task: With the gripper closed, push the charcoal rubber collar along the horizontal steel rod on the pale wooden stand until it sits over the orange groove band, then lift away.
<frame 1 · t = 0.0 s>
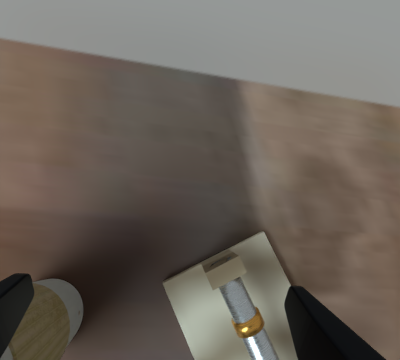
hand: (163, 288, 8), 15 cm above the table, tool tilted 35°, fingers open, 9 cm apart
stand: (255, 344, 21), on the table
coffee cup: (49, 313, 21), on the table
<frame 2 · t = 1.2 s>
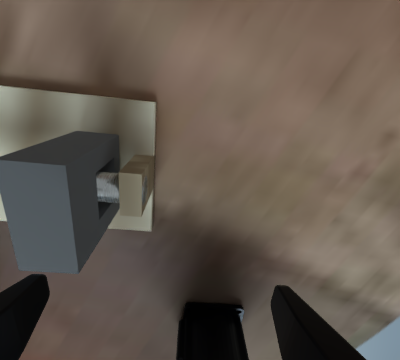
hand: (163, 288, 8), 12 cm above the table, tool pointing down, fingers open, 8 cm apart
stand: (43, 161, 18), on the table
rod: (5, 178, 15), point 3 cm above the table
collar: (77, 190, 14), point 5 cm above the table, slide at 0.0 cm
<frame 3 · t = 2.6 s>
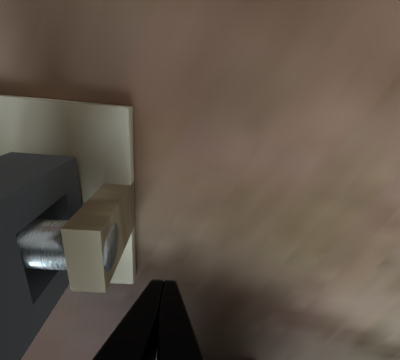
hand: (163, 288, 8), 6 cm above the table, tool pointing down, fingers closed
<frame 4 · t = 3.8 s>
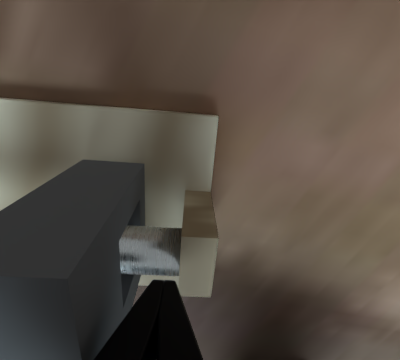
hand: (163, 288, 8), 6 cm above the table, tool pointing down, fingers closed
stand: (54, 199, 13), on the table
collar: (87, 262, 9), point 5 cm above the table, slide at 1.0 cm, touching gripper
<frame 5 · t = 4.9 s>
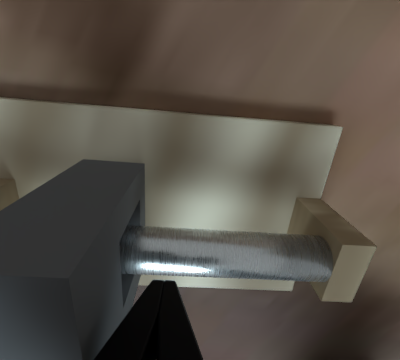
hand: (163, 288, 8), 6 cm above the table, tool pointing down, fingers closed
stand: (162, 205, 13), on the table
rod: (150, 249, 10), point 3 cm above the table
collar: (87, 262, 9), point 5 cm above the table, slide at 7.3 cm, touching gripper
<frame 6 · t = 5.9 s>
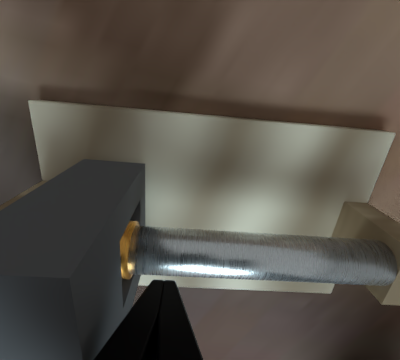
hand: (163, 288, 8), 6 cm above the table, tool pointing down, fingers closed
stand: (208, 209, 14), on the table
rod: (213, 253, 10), point 3 cm above the table
collar: (87, 262, 9), point 5 cm above the table, slide at 10.1 cm, touching gripper
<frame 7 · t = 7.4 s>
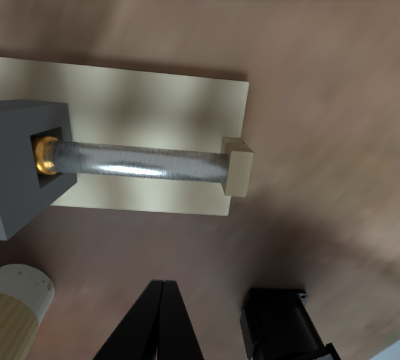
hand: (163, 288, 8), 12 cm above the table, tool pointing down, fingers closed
stand: (125, 145, 18), on the table
rod: (109, 160, 14), point 3 cm above the table
coffee cup: (25, 285, 24), on the table
collar: (16, 158, 13), point 5 cm above the table, slide at 10.1 cm
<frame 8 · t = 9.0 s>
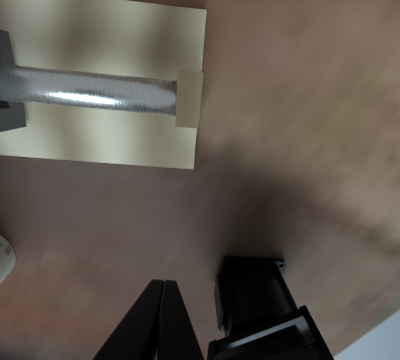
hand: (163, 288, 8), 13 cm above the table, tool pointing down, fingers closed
stand: (79, 87, 17), on the table
rod: (47, 86, 13), point 3 cm above the table
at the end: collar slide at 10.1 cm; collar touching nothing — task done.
